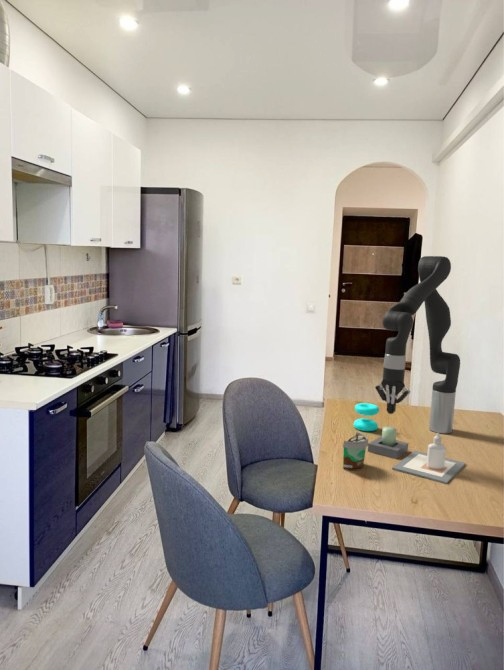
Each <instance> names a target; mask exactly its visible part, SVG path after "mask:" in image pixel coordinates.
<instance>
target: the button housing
mask: <svg viewBox="0 0 504 670" xmlns="http://www.w3.org/2000/svg"><path fill="white" fill-rule="evenodd" d="M381 443H382V435H381V436H378V437H377V438H375V439H374V440H372V441H370V442H368V446H367V452H368V453H372V454H375V455H380V456H384V457H388V458H392V459H396V460H397V459H398V458H400V457H401V456H402V455H404V454H405V453H407V452H408V451H409V443H408V442H406V441H401V440H397V439H396V444H395V446H393V447H390V446H386V445H382V444H381Z"/></svg>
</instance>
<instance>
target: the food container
mask: <svg viewBox="0 0 504 670" xmlns="http://www.w3.org/2000/svg"><path fill="white" fill-rule="evenodd" d="M368 440H369V439H368V437H367V435H365V434H363V433H360V432H355V435H354V436H353V437H350V438H349V439H348V440H343V443H342V444H343V445H342V446H343V447H342V448H343V464H342V466H343V467H342V469H343V470H346V469H348V470H347V471H357V470H362V469H363V468H364V463H365V458H366V457H365V455H366V450H367V448H368V444H369V441H368Z"/></svg>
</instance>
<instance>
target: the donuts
mask: <svg viewBox="0 0 504 670" xmlns="http://www.w3.org/2000/svg"><path fill="white" fill-rule="evenodd" d="M354 410H355V412H356V413H357V414H358V415H362V416H368V417H369V416H371V417H372V416H375V415H377V414H378V413H379V412H380V408H379V406H378V405H376V404H373V403H370V402H369V403H368V402H363V403H362V402H361V403H356V405H355V406H354ZM353 427H354V428H355V429H356V430H359V431H361V432H375V431H377V430H378V428H379V424H378V422H376V421H375V420H374V419H369V418H358V419H355V420H354V422H353Z"/></svg>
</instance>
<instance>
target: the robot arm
mask: <svg viewBox="0 0 504 670" xmlns="http://www.w3.org/2000/svg"><path fill="white" fill-rule="evenodd" d="M451 269H452V264H451V260H450V259H449V258H448V257H447V256H441V255H437V256H436V255H433V256H431V255H425V256H422V257H421V258H419V261H418V266H417V272H418V278H419V281H420V282H419V283H417V284H415V285H414V286H412V287H411V288H409V289H408V291H406V292H405V294H404V295H403V297H402V298H401V299H400V301H399V302H397V303H396V304H394V305H393V306H391V307H390V308H389V309H387V311H386V312H385V314H384V315H383V317H382V326H383V328H384V329H386V330H387V331H393V332H398V334H397V335H396V336H392V337H388V338H387V339H386V341H385V352H384V359H383V365H382V366H383V369H382V380H381V382H380V384H378V385H376V386H375V390H376V391H377V394H378V395H379V397H380V399H381V400H382V401H384V402H385V403H386V412H387V414H390V415H392V414H394V413H395V412H396V408H397V407H396V406H397V404H399V403H402V402H403V400H405V399H406V398H407V396H409V395H410V393H411V391H410V390H409V389H407V387H406V385H405V374H406V373H405V372H406V371H405V370H406V352H407V351H406V350H407V343H408V339H409V337H410V333H411V332H412V329H413V326H414V318H413V316H414V315H415V314H416V313H417V312H418V310H419V309H420V307H421V306H422V305H423V303H424V309H425V319H426V326H427V332H428V341H429V344H428V345H429V365H430V370H432V372H433V373H435V374H439V375H444V376H445V379H443V380H441V381H440V380H439V381H435V382H433V384H432V389H431V390H432V391H431V402H430V403H431V404H430V413H429V414H430V415H429V425H428V430H429V431H431V432H434V433H436V434H437V433H439V434H451V433H453V425H454V416H455V415H454V414H455V406H456V405H455V404H456V394H457V386H458V383H459V382H458V381H459V376H460V369H461V357H460V356H459V355H458V354H457V353H452V352H447V351H443V349H442V344H443V343H442V342H443V340H444V338H445V337H446V334H448V332H449V330H450V329H451V326H452V320H451V319H452V318H451V310H450V307H449V305H448V303H447V302H446V300H445V299H444V298H443V297H442V296H441V294H440V292H439V291H438V290H437V288H439V286H440V285H441V284H442V283H443V282H445V280H447V278H448V277H449V276H450V274H451ZM400 393H401V395H400V396H399V394H400Z"/></svg>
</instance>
